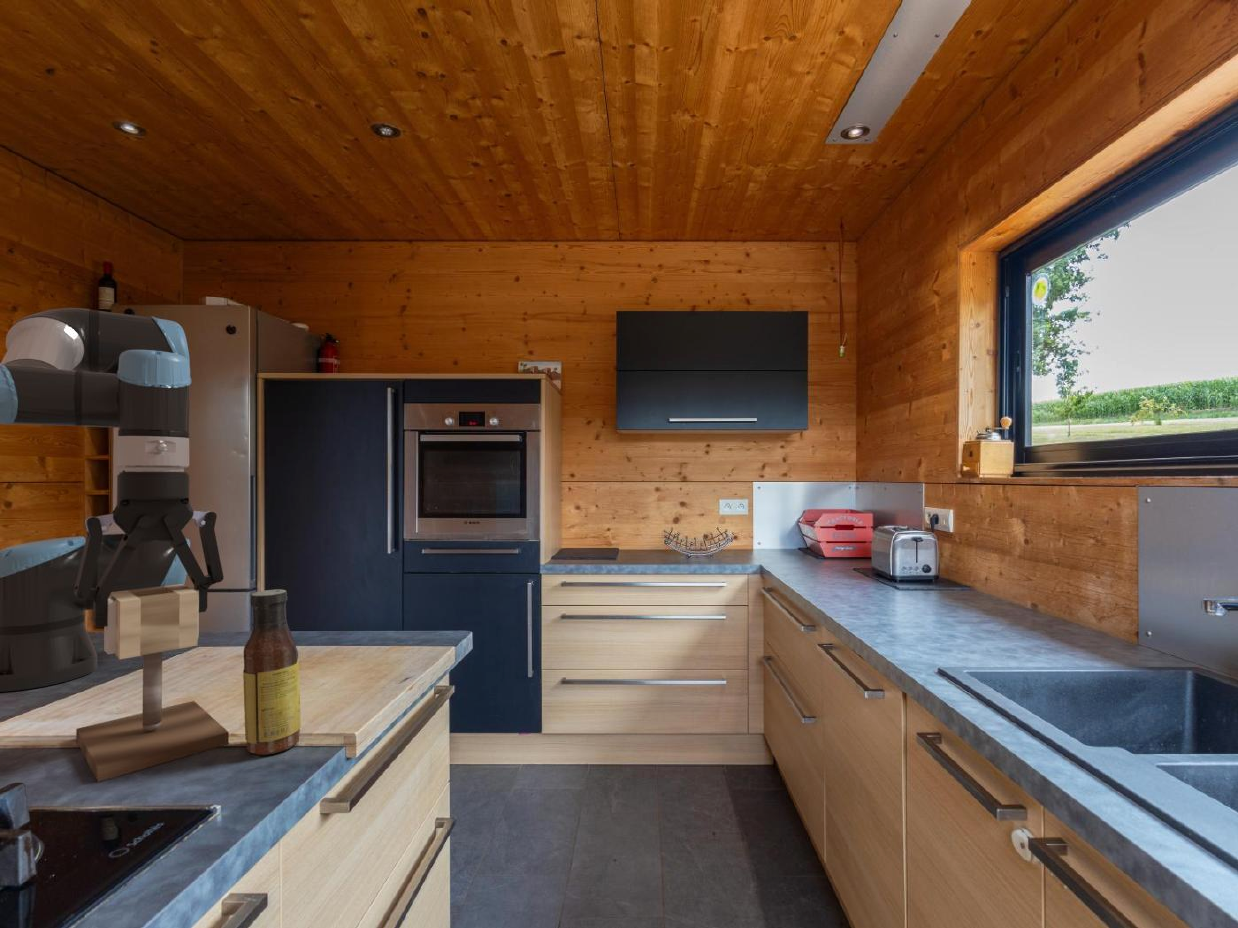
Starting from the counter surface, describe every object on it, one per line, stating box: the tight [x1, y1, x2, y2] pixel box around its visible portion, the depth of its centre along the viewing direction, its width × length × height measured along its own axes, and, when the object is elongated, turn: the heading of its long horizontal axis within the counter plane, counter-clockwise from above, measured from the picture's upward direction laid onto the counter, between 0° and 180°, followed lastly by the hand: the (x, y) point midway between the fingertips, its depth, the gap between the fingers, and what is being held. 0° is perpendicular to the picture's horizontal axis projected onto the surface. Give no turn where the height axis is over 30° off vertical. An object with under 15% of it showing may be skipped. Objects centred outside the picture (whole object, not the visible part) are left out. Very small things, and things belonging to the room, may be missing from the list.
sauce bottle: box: [242, 588, 302, 756], centre depth 78 cm, size 7×6×20 cm
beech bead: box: [109, 584, 198, 660], centre depth 80 cm, size 8×8×7 cm
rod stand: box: [75, 652, 230, 783], centre depth 79 cm, size 16×13×14 cm
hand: (152, 643), depth 80 cm, fingers closed on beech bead, 8 cm apart
